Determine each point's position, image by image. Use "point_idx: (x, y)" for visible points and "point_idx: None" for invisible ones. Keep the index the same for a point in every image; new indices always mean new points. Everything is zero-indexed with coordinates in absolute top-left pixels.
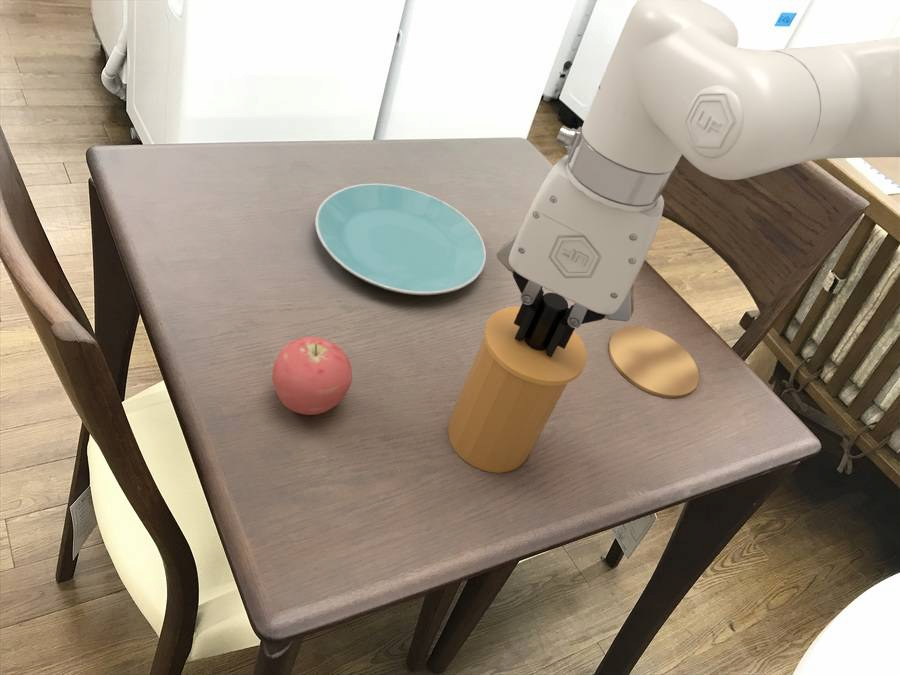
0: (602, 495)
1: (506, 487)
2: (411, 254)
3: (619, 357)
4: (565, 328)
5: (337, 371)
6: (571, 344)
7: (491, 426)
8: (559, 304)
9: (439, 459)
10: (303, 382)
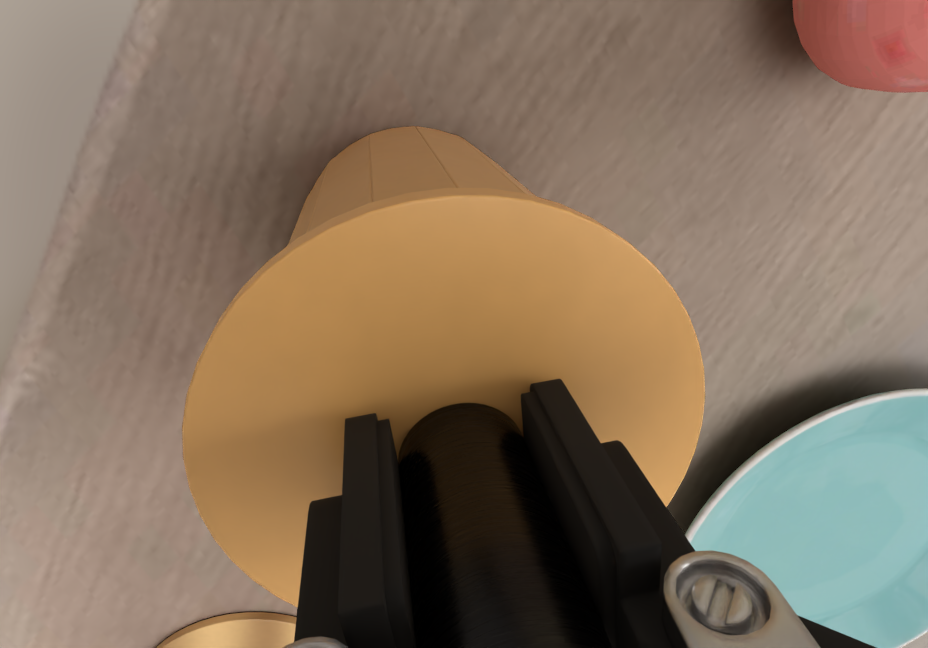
0: (90, 299)
1: (289, 132)
2: (802, 533)
3: None
4: (340, 598)
5: None
6: None
7: (407, 153)
8: None
9: (474, 80)
10: None
